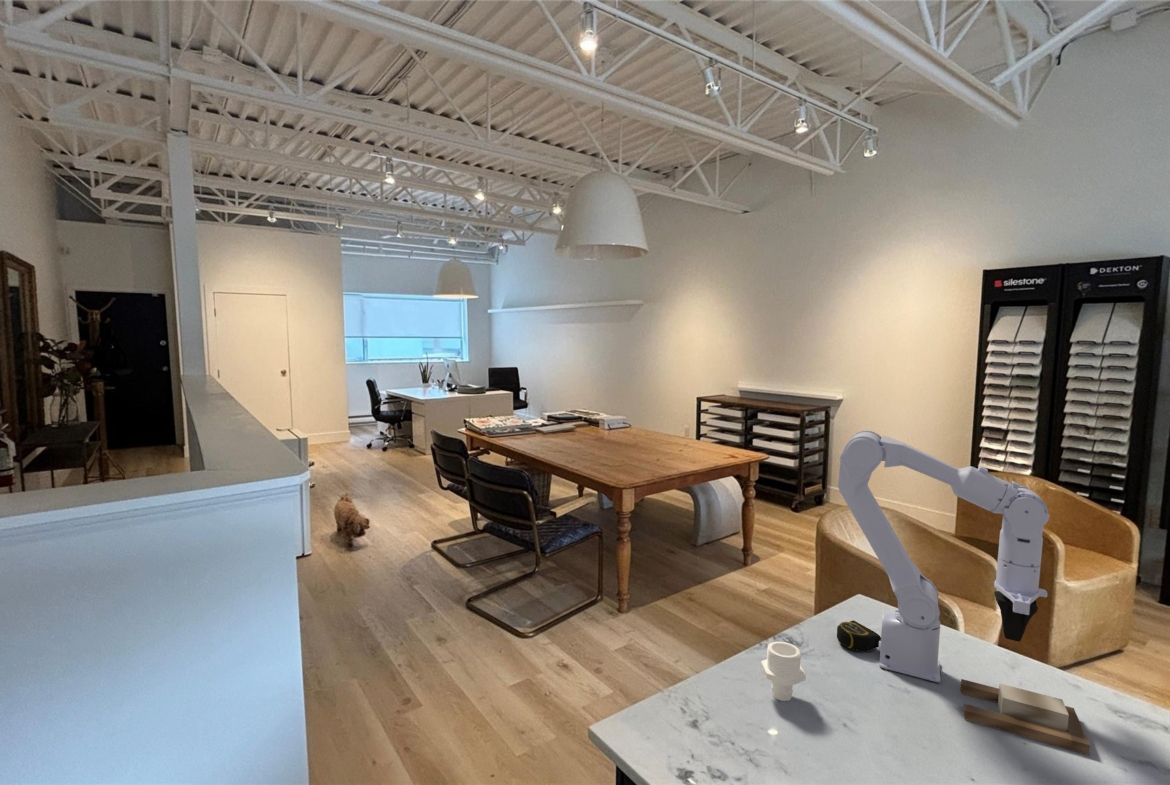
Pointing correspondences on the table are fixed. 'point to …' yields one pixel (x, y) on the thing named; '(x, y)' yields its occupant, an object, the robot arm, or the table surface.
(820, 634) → the table surface
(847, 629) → the tape measure
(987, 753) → the table surface
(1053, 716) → the beige rectangular block
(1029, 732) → the brown frame section
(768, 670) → the pipe fitting
